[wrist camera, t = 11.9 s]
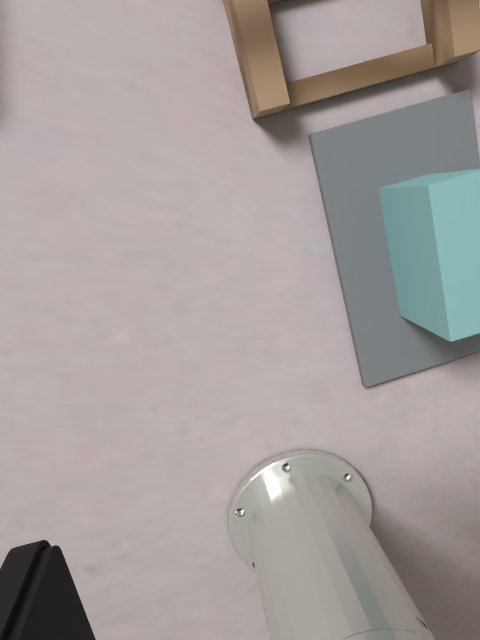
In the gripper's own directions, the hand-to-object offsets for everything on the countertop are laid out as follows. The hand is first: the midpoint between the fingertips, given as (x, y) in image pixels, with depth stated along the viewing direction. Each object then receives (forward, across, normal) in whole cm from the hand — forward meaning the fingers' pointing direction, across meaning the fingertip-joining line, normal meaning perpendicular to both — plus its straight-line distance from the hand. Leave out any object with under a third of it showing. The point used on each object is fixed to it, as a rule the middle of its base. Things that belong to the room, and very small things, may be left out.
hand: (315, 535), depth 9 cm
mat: (+27, -16, 0) cm, 31 cm away
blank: (+26, -16, 0) cm, 30 cm away
